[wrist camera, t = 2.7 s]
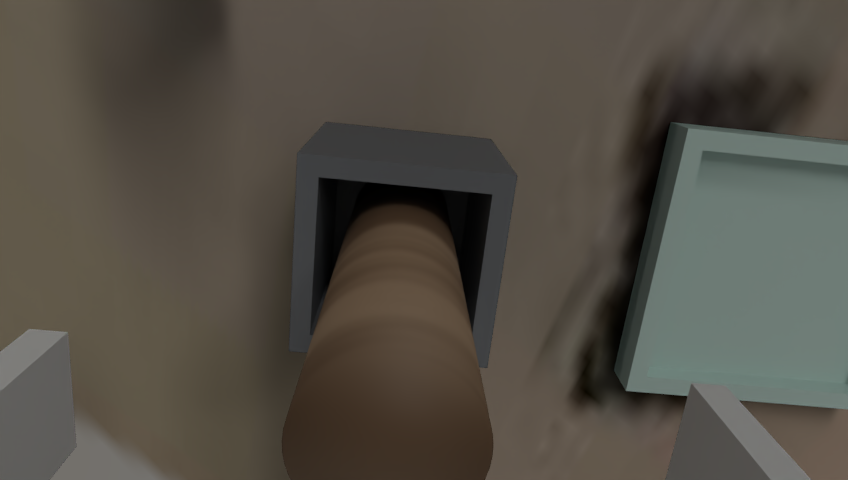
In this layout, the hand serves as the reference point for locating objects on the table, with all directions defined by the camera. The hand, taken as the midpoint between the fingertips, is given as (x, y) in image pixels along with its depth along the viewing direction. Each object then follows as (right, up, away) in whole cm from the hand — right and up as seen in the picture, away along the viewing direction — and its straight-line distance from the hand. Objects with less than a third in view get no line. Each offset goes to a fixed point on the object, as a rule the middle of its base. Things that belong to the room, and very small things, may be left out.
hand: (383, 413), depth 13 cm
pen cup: (0, +5, +14) cm, 15 cm away
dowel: (0, +5, +14) cm, 15 cm away
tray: (+17, +2, +15) cm, 23 cm away
